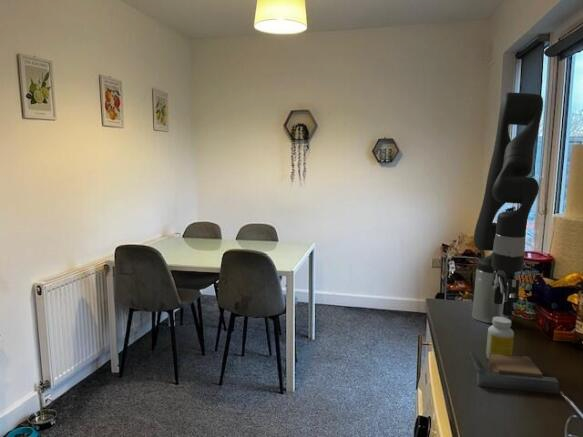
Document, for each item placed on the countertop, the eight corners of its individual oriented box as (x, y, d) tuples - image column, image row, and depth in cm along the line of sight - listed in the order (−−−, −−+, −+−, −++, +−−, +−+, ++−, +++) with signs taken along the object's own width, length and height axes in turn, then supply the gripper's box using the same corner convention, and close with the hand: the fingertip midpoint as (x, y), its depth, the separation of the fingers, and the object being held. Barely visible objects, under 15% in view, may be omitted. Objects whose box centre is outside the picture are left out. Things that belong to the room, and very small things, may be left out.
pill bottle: (514, 366, 118) (518, 325, 116) (488, 363, 119) (492, 323, 118) (507, 355, 124) (511, 316, 123) (483, 353, 126) (486, 314, 124)
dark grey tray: (463, 355, 124) (464, 345, 123) (532, 362, 121) (533, 351, 120) (478, 385, 108) (479, 374, 107) (557, 393, 105) (558, 382, 105)
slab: (487, 367, 118) (489, 353, 117) (527, 371, 116) (529, 357, 116) (497, 384, 109) (499, 369, 109) (540, 389, 108) (542, 374, 107)
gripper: (486, 244, 124) (481, 299, 127) (501, 257, 110) (494, 318, 113) (514, 246, 123) (508, 301, 126) (533, 259, 109) (526, 320, 112)
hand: (502, 309), depth 120 cm, fingers open, 8 cm apart
